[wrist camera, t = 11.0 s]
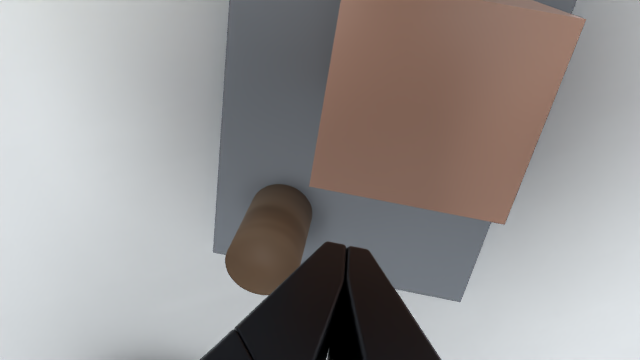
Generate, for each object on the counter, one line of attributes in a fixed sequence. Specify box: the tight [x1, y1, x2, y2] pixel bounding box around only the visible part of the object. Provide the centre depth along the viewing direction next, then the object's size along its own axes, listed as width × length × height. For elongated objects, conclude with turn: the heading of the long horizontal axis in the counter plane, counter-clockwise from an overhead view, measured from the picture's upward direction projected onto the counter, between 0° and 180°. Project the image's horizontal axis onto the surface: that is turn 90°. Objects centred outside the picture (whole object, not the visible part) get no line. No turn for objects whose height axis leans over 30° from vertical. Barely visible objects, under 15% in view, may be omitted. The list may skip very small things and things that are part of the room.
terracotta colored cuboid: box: [309, 0, 586, 225], centre depth 14 cm, size 5×5×7 cm
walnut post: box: [225, 184, 312, 295], centre depth 20 cm, size 3×3×4 cm
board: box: [213, 0, 577, 302], centre depth 19 cm, size 16×12×1 cm
